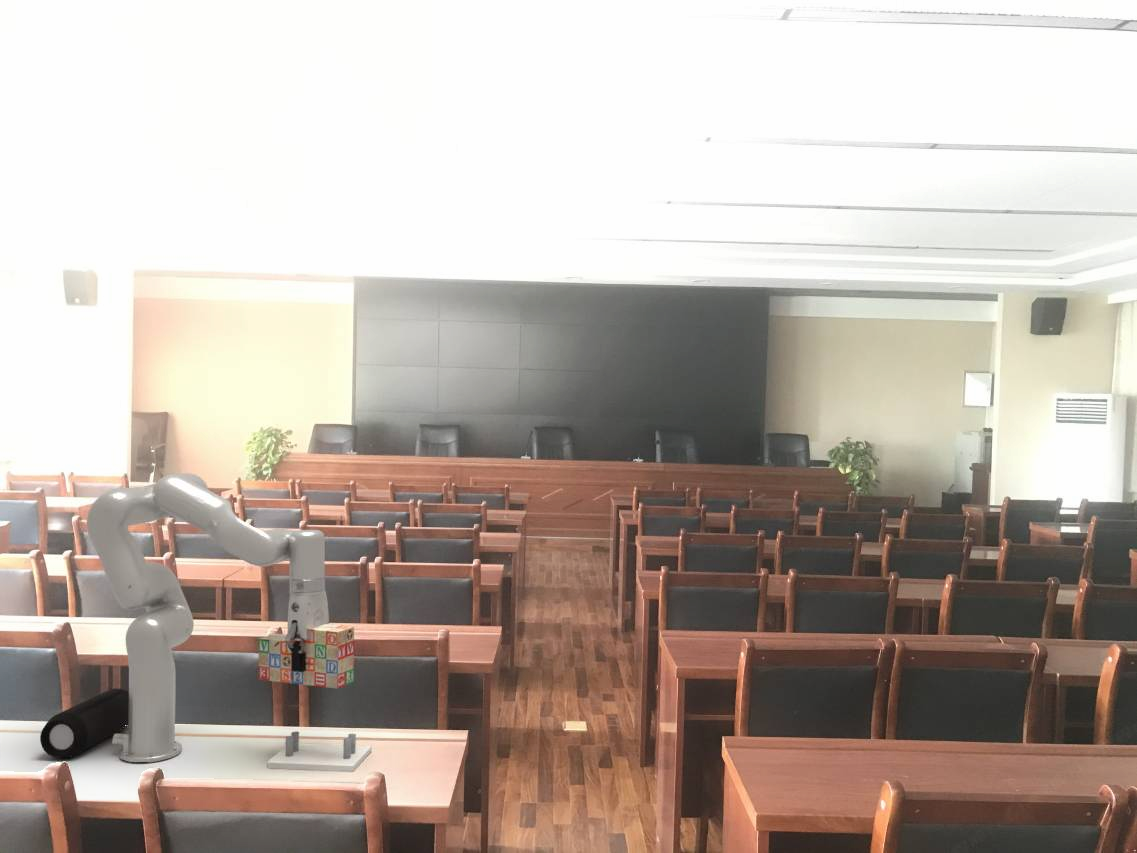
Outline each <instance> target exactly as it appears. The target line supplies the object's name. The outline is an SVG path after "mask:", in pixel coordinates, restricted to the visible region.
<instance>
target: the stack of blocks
mask: <svg viewBox="0 0 1137 853" xmlns="http://www.w3.org/2000/svg"><path fill="white" fill-rule="evenodd" d="M286 635H287V634H286V633H285V634H284V633H274V634H271V635H266V636H265V637H260V638H258V639H257V640H258V641H257V643H258V644H257V650H258V664H257V665H258V680H262V681H270V682H276V683H277V682H278V683H286V684H296V685H306V686H315V687H320V688H329V689H330V688H331V689H339V688H343V687H345V686H347V685H350V684H352V683H354V681H355V669H354V668H355V626H347V625H342V624H333V623H332V624H330V623H329V624H325V625H322V626H319V627H316V628H312V629H311V639H310V640H306V641H305V648H304V652H303V653H306V670H305V671H304V672H297V671H292V670H291V653H290V649H289V647H288V645H287V643H286V642H285V637H286ZM296 638H301V637H300V636H296ZM297 643H298V645H299V646H300V643H301V642H297Z"/></svg>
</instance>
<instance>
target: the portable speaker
mask: <svg viewBox="0 0 1137 853" xmlns="http://www.w3.org/2000/svg"><path fill="white" fill-rule="evenodd" d="M128 714H129V689H128V690H127V689H123V688H116V687H115V688H111V689H109V690H106V691H103V692H102V693H99V694H98V695H95V696H94V697H93V696H92V698H89V699H86V700H85V701H82V702H80V703H78V704H76V705H74V706H72V707H70V708H68V709H66V710H63V711H61V712H59V713H57V714H55V715H54V716H52V717H50V719H49V720H48V721H47V722H45V723H46V724H45V725H44V726H43V728H42V730H41V732H40V736H39V737H40V738H39V741H40V745H41V748H42V749H43V751H44V753H46V754H47V755H48V756H50V757H52V758H57V759H58V758H60V759H61V758H62V759H67V758H66V757H70V756H73V757H75V756H76V754H77V755H78V754H80V753H82V752H84V751H85V749H86V750H87V749H89V748H91V747H92V746H94V745H96V744H97V742H98V743H99V742H101V741H103V740H105V739H106V737H107V738H108V737H110V736H112V735H114V734H116V733H118V732H119V730H120V729H121V730H123V729H124V728H123V727H125V728H128V726H125V725H128ZM122 728H123V729H122ZM121 730H120V731H121ZM117 731H118V732H117ZM115 732H116V733H115ZM113 733H114V734H113ZM104 738H105V739H104ZM95 743H96V744H95ZM74 755H75V756H74ZM70 758H71V757H70Z"/></svg>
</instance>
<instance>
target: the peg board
mask: <svg viewBox="0 0 1137 853" xmlns="http://www.w3.org/2000/svg"><path fill="white" fill-rule="evenodd" d="M347 736H348V737H347V738H344V739H343V744H327V743H326V744H325V743H324V744H323V743H319V744H318V743H300V742H299V741H300V732H299V731H292V732H291V735H288V736H287V735H286V737H285V747H284V748H282V749H281V750H280V751H279V752H278V753H277V754H275V755H274V756H273V757H271V758H270V759H269V760H268V761H267V762H266V769H277V770H282V769H283V770H303V771H306V770H307V771H324V772H325V771H330V772H348V773H349V772H350V773H351V772H355V770H356V769H358V767H359V766H360V765H361V764H362V763H363V762H364V761H365V759H367V757H368V756H369V755H370V754H371V753H370V751H371V750H372V745H356V742H357V741H356V740H357V739H356V737H357V736H356V733H349V734H348V735H347ZM369 753H370V754H369ZM368 754H369V755H368ZM367 755H368V756H367ZM366 756H367V757H366Z"/></svg>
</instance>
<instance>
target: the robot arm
mask: <svg viewBox="0 0 1137 853" xmlns="http://www.w3.org/2000/svg"><path fill="white" fill-rule="evenodd" d="M232 508H233V506H232V503H231V502H230V500H228V499H227V498H225V497H223V496H221V495H219V494H217V493H215V492H213V491H211V490H209V488H208V485H207V483H206V482H205V481H204V479H203V478H202V477H200V476H198V475H196V474H195V473H188V472H187V473H171V474H168V475H164V476H163V477H161V478H160V479H158V480H157V481H156V482H155V483H152V484H149V485H148V484H147V485H145V486H137V487H135V486H134V487H122V488H116V489H112V490H109V491H107V492H105V493H103V494H101V495H100V496H99V497H98V498H97V499H95V501H94V502H93V503H92V505H91V506H90V508H89V510H88V512H87V516H86V530H87V535H88V536H89V540H90V542H91V544H92V546H93V548H94V550H95V552H96V554H97V556H98V558H99V561H100V563H101V566H102V569H103V571H104V574H105V576H106V579H107V581H108V584H109V586H110V588H111V591H112V593H113V595H114V596H113V597H114V598H115V600H116V602H117V603H118V605H119V606H120V607H121V608H122V609H125V610H129V611H135V610H141V609H145V611H146V612H145V613H143V614H140V616H137V617H136V618H135V619H134V620H133V621H132V622H131V623H130V624H129V626H128V628H127V630H126V634H125V647H126V654H127V660H128V691H129V714H128V726H127V728H128V729H127V733H125V734H124V733H118V732H116V733H114V734H113V737H112V741H111V744H112V745H113V746H122V749H121V750H120V752H119V758H120V757H121V759H120V760H122V759H123V760H126V761H130V762H129V763H131V762H148V763H153V762H154V763H155V762H161V761H165V760H169V759H171V758H174V757H176V756H177V755H180V754H181V752H182V750H183V748H182V746H183V745H182V743H180V742H179V741H175V736H176V735H175V731H176V728H175V727H176V724H175V723H176V688H177V686H176V684H177V682H176V677H177V676H176V675H177V673H176V664H175V659H174V656H173V651H172V650H173V648H175V647H178V646H180V645H182V644H183V643H185V642H186V641H187V640H189V638H190V637H191V636H192V633H193V631H194V617H193V613H192V612H191V609H190V606H189V604H188V602H187V599H186V597H185V595H184V592H183V590H182V588H181V587H182V586H181V585H180V582H179V580H178V578H177V577H176V575H175V573H174V572H173V571H172V570H171V568H170V567H168V566H167V565H165V564H163V563H160V562H149V563H148V562H147V560H146V558H145V556H144V554H143V551H142V548H141V546H140V544H139V542H138V541H137V540H136V538H135V537H134V536H133V534H132V533H131V532H130V530H129V526H135V525H140V524H146V523H150V522H151V523H152V522H154V521H158V520H162V519H166V518H168V517H172V516H174V517H175V518H177V519H180V520H181V521H183V522H186V524H188V525H190V526H193V527H194V528H196V529H198V530H200V531H202V532H203V533H205V534H207V535H208V536H209V537H210V539H211V540H213V542H215V544H217V545H218V547H220V548H221V549H222V550H224V551H225V552H227V553H229V554H230V555H232V556H234V557H236V558H238V559H240V560H242V561H244V562H246V563H248V564H250V565H252V566H255V567H262V568H263V567H265V568H266V567H269V566H273V565H275V564H278V563H283V562H286V561H289V599H288V610H287V634H285V635H286V637H285V642H286V643H287V645H288V647H289V649H290V653H291V670H292V671H297V672H304V671H305V670H306V653H303V652H304V648H305V641H306V640H310V639H311V629H312V628H316V627H319V626H322V625H325V624H330V614H329V604H328V603H329V602H328V596H327V592H326V582H325V580H326V579H325V578H326V576H325V575H326V573H325V572H326V570H325V569H326V568H325V567H326V566H325V561H326V560H325V555H326V554H325V547H326V546H325V544H326V543H325V534H324V532H323V531H321V530H319V529H300V530H293V529H285V528H273V529H270V530H269V529H268V530H264V531H263V530H262V529H261V530H260V529H258V528H257V527H254V526H252V525H250V524H249V523H248V522H245V521H243V519H241V518H239V516H237V515H236V514H235V513H234V511H233V509H232ZM296 636H300V637H301V638H296ZM297 642H301V643H300V646H299V645H298V643H297ZM123 760H122V761H123ZM126 761H125V762H126Z"/></svg>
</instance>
